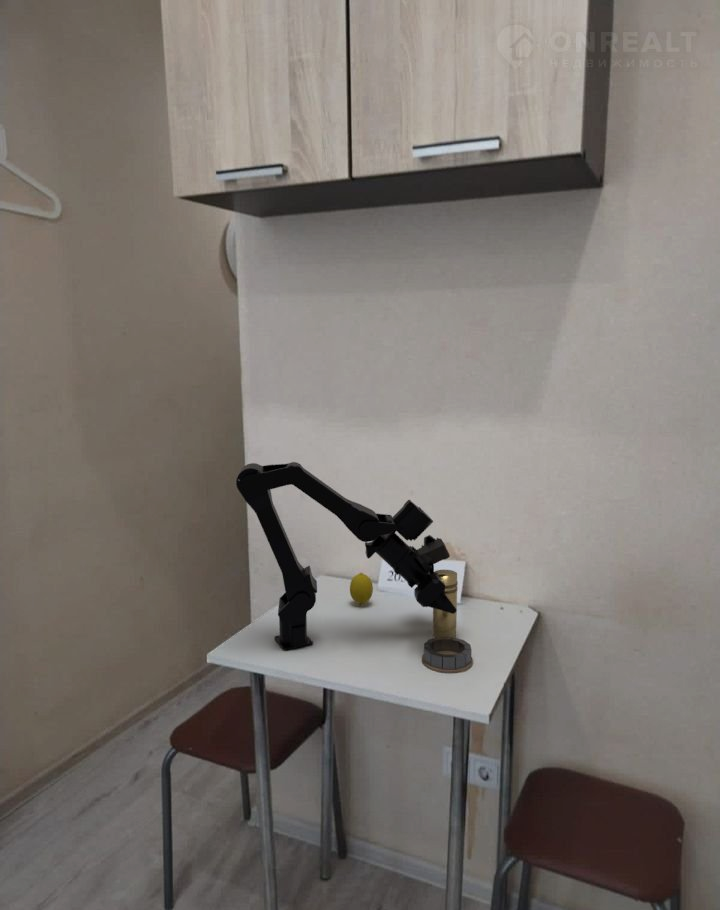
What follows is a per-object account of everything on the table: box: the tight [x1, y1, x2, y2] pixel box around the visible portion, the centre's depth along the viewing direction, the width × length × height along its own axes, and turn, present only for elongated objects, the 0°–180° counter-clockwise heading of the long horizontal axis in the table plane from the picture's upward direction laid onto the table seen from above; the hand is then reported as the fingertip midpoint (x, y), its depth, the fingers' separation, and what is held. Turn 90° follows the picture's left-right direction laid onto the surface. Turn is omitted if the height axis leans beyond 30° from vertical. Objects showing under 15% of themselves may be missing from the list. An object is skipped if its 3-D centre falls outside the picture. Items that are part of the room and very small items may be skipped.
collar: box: [423, 637, 472, 670], centre depth 132 cm, size 9×9×2 cm
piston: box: [432, 569, 459, 638], centre depth 142 cm, size 5×5×14 cm
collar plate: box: [421, 651, 474, 674], centre depth 132 cm, size 10×10×1 cm
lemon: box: [349, 572, 374, 606], centre depth 161 cm, size 6×6×8 cm
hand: (450, 603), depth 142 cm, fingers open, 9 cm apart
